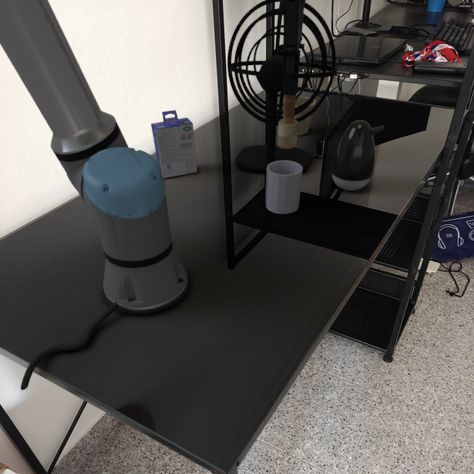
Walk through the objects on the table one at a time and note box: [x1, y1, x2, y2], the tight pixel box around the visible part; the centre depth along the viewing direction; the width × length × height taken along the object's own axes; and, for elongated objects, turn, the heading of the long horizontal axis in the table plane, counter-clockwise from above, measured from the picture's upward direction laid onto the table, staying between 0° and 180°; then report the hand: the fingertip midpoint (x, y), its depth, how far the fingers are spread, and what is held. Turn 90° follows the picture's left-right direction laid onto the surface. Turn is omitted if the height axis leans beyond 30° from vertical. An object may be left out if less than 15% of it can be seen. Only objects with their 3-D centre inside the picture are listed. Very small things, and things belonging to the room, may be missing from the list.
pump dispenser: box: [330, 119, 385, 192], centre depth 102 cm, size 10×10×15 cm
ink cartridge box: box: [150, 109, 198, 179], centre depth 110 cm, size 10×6×14 cm, turn 112°
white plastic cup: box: [265, 160, 303, 215], centre depth 98 cm, size 8×8×9 cm
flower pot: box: [294, 96, 317, 136], centre depth 130 cm, size 9×9×9 cm
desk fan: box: [226, 0, 338, 173], centre depth 106 cm, size 27×18×35 cm, turn 75°
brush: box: [277, 34, 300, 149], centre depth 83 cm, size 4×4×20 cm
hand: (289, 91), depth 83 cm, fingers closed on brush, 2 cm apart
